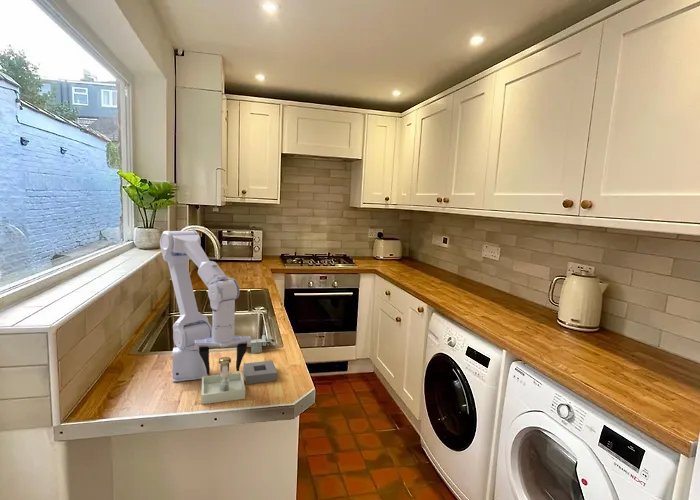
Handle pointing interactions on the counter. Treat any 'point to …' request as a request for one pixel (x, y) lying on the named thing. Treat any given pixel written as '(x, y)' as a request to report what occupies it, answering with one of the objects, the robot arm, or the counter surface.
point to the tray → (214, 394)
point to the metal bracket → (259, 344)
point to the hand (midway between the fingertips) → (223, 371)
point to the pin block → (259, 372)
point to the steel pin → (224, 373)
